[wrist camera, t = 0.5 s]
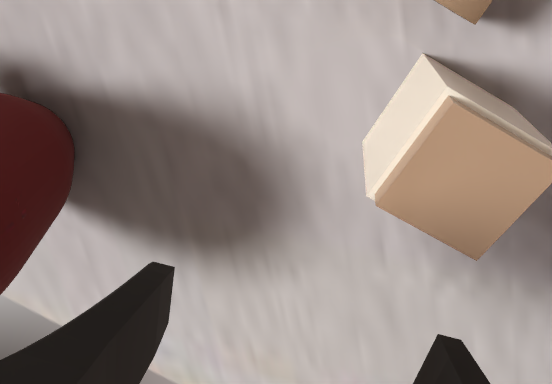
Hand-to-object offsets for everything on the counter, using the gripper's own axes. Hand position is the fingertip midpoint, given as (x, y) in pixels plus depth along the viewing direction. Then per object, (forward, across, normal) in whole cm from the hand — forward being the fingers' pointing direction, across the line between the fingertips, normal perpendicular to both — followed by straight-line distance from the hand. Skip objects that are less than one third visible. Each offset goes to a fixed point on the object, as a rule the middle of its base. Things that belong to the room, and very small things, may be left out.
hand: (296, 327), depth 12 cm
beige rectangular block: (+10, -4, -3) cm, 12 cm away
